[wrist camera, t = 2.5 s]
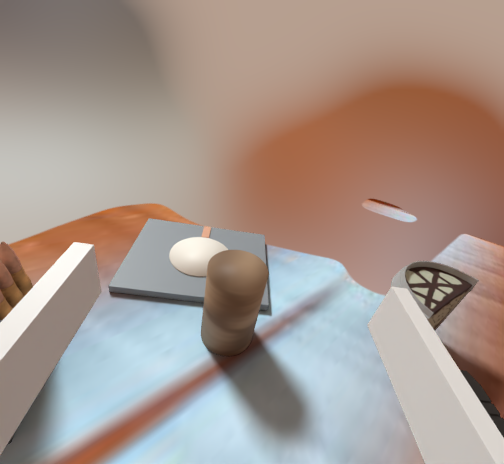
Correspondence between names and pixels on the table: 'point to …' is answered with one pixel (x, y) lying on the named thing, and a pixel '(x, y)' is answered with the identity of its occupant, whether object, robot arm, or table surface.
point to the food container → (434, 288)
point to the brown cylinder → (232, 301)
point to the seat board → (179, 260)
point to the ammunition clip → (11, 282)
